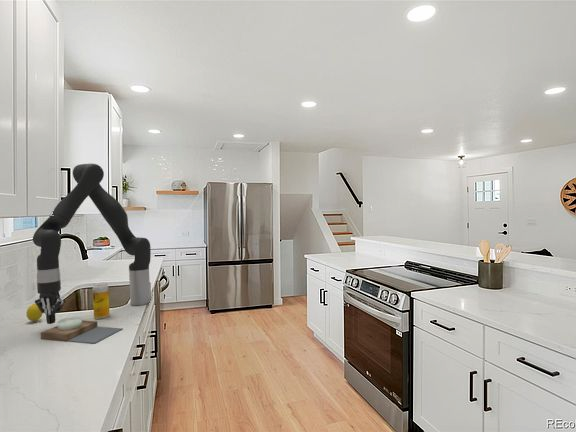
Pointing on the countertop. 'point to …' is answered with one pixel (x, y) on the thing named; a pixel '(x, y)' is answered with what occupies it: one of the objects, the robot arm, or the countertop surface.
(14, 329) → the countertop surface
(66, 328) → the pale green rounded disc
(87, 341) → the mat
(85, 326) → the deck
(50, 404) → the countertop surface
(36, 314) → the lemon
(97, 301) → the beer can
